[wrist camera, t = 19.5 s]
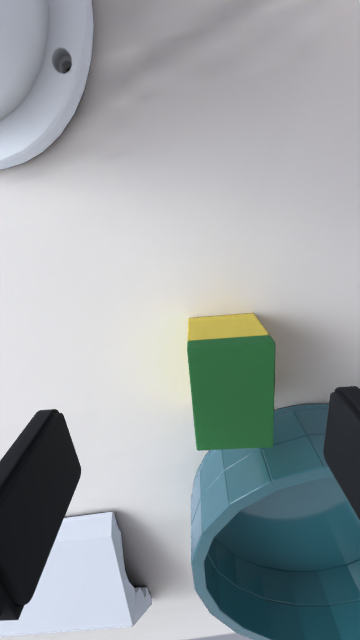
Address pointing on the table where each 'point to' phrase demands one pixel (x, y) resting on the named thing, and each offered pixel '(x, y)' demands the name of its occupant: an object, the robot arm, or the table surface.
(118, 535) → the crown molding
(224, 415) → the sponge
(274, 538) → the bowl
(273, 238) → the table surface
